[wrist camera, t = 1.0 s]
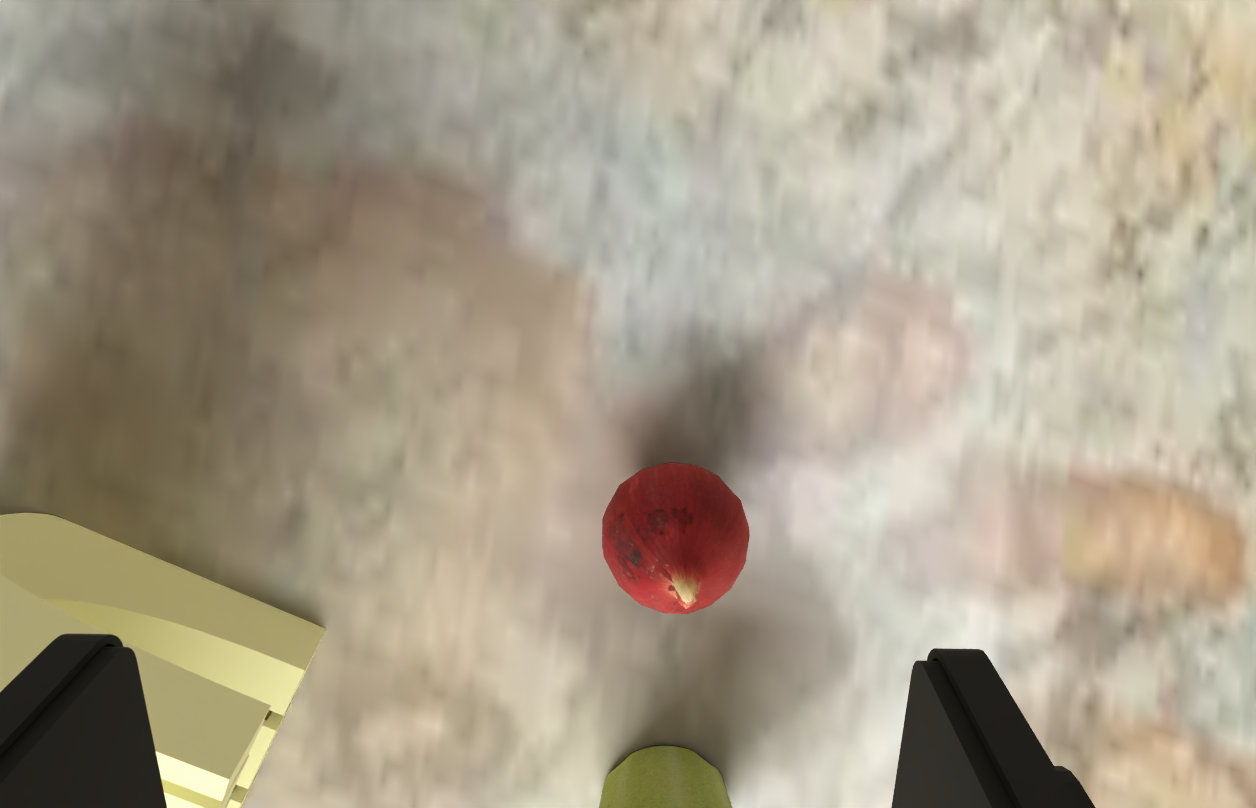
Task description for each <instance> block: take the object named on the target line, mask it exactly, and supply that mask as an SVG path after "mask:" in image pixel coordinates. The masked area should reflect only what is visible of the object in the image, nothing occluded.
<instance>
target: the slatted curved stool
mask: <svg viewBox="0 0 1256 808" xmlns="http://www.w3.org/2000/svg"><path fill="white" fill-rule="evenodd" d="M325 631H326V629H325V628H323V627H320V626H318V625H316V624H313V623H311V622H308V621H306V620H304V619H301V618H299V617H296V616H294V615H292V614H289V613H287V612H285V611H282V610H280V609H277V608H275V607H273V606H270V605H268V604H265V603H263V602H261V601H258V600H256V599H254V598H251V597H249V596H246V595H244V594H242V593H239V592H237V591H234V590H232V589H230V588H227V587H225V586H223V585H220V584H218V583H215V582H213V581H211V580H208V579H206V578H203V577H201V576H199V575H196V574H194V573H192V572H189V571H187V570H184V569H182V568H180V567H177V566H175V565H173V564H170V563H168V562H165V561H163V560H161V559H158V558H156V557H153V556H151V555H149V554H146V553H144V552H142V551H139V550H137V549H134V548H132V547H130V546H127V545H125V544H122V543H120V542H118V541H115V540H113V539H111V538H108V537H106V536H103V535H101V534H99V533H96V532H94V531H91V530H89V529H87V528H84V527H82V526H80V525H77V524H75V523H72V522H70V521H68V520H65V519H63V518H60V517H57V516H53V515H48V514H38V513H16V514H5V515H0V692H1V691H2V690H3V689H4V688H5V687H6V686H7V685H8V684H9V683H10V682H11V681H12V680H13V679H14V678H15V677H16V676H17V675H18V674H19V673H20V672H21V671H22V670H23V669H24V668H25V667H26V666H27V665H28V664H30V663H31V662H32V661H33V660H34V659H35V658H36V657H37V656H38V655H39V654H40V653H41V652H42V651H43V650H44V649H45V648H46V647H47V646H48V645H49V644H50V643H51V642H52V641H53V640H54V639H56V638H57V637H58V636H60V635H63V634H112V635H115V636H117V637H118V638H119V639H120V640H121V641H122V644H123V647H129V648H131V649H132V650H133V651H134V652H135V655H136V658H137V663H138V668H139V673H140V678H141V683H142V688H143V692H144V697H145V702H146V707H147V712H148V717H149V722H150V727H151V732H152V736H153V741H154V746H155V751H156V756H157V761H158V766H159V771H160V776H161V780H162V785H163V790H164V795H165V800H166V805H167V808H241V806H242V804H243V802H244V800H245V798H246V796H247V794H248V792H249V789H250V787H251V785H252V783H253V781H254V779H255V777H256V774H257V772H258V770H259V768H260V766H261V764H262V762H263V760H264V758H265V756H266V754H267V752H268V750H269V748H270V746H271V744H272V741H273V739H274V737H275V735H276V733H277V731H278V729H279V727H280V725H281V723H282V721H283V719H284V716H285V714H286V712H287V710H288V708H289V706H290V702H291V701H292V699H293V697H294V695H295V693H296V691H297V689H298V687H299V685H300V683H301V681H302V679H303V677H304V675H305V673H306V671H307V668H308V666H309V664H310V662H311V660H312V658H313V656H314V654H315V652H316V650H317V648H318V646H319V643H320V641H321V639H322V637H323V635H324V633H325Z"/></svg>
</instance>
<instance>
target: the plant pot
mask: <svg viewBox="0 0 1256 808" xmlns="http://www.w3.org/2000/svg"><path fill="white" fill-rule="evenodd" d="M599 808H732V806H731V802H730V799H729V796H728V794H727V791H726V788H725V785H724V782H723V779H722V776H721V775H720V773H719V771H718V770H717V769H716V768H715V767H713V766H712V765H710V764H709V763H708V762H706V761H705V760H703V759H702V758H701V757H700V756H699V755H697V754H696V753H695V752H694V751H691V750H689V749H685V748H681V747H676V746H655V747H649V748H645V749H641V750H639V751H636V752H634V753H632V754H630V755H629V756H628V757H627V758H626V759H625V760H624V761H623V762H622V763H621V764H619V765H618V766H617V767H616V768H615V769H614V770H613V771H611V772H610V773H609V774H608V776H607V778H606V780H605V783H604V787H603V791H602V796H601V801H600V806H599Z"/></svg>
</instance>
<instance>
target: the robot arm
mask: <svg viewBox="0 0 1256 808" xmlns="http://www.w3.org/2000/svg"><path fill="white" fill-rule="evenodd" d="M0 808H167V805H166V800H165V795H164V790H163V785H162V780H161V776H160V771H159V766H158V761H157V756H156V751H155V746H154V741H153V736H152V732H151V727H150V722H149V717H148V712H147V707H146V702H145V697H144V692H143V688H142V683H141V678H140V673H139V668H138V663H137V658H136V655H135V652H134V651H133V650H132V649H131V648H129V647H123V644H122V641H121V640H120V639H119V638H118V637H117V636H115V635H112V634H63V635H60V636H58V637H57V638H56V639H54V640H53V641H52V642H51V643H50V644H49V645H48V646H47V647H46V648H45V649H44V650H43V651H42V652H41V653H40V654H39V655H38V656H37V657H36V658H35V659H34V660H33V661H32V662H31V663H30V664H28V665H27V666H26V667H25V668H24V669H23V670H22V671H21V672H20V673H19V674H18V675H17V676H16V677H15V678H14V679H13V680H12V681H11V682H10V683H9V684H8V685H7V686H6V687H5V688H4V689H3V690H2V691H1V692H0ZM892 808H1095V806H1094V805H1093V803H1092V801H1091V800H1090V798H1089V797H1088V795H1087V793H1086V792H1085V790H1084V789H1083V787H1082V785H1081V784H1080V782H1079V781H1078V780H1077V778H1076V777H1075V776H1074V775H1073V774H1072V772H1071V771H1069V770H1068V769H1066V768H1064V767H1063V766H1054V765H1053V764H1052V762H1051V761H1050V759H1049V757H1048V756H1047V754H1046V752H1045V751H1044V749H1043V747H1042V746H1041V744H1040V742H1039V741H1038V739H1037V737H1036V736H1035V734H1034V732H1033V731H1032V729H1031V727H1030V726H1029V724H1028V722H1027V721H1026V719H1025V718H1024V716H1023V714H1022V713H1021V711H1020V709H1019V708H1018V706H1017V704H1016V703H1015V701H1014V699H1013V698H1012V696H1011V694H1010V693H1009V691H1008V689H1007V688H1006V686H1005V684H1004V683H1003V681H1002V679H1001V678H1000V676H999V675H998V673H997V671H996V670H995V668H994V666H993V665H992V663H991V661H990V660H989V658H988V656H987V655H986V654H985V653H984V651H982V650H979V649H933V650H931V651H930V653H929V655H928V659H927V661H916V662H915V663H914V665H913V669H912V674H911V681H910V688H909V694H908V701H907V708H906V715H905V721H904V728H903V735H902V742H901V748H900V755H899V762H898V769H897V775H896V782H895V789H894V795H893V802H892Z"/></svg>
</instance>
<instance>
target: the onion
mask: <svg viewBox="0 0 1256 808" xmlns="http://www.w3.org/2000/svg"><path fill="white" fill-rule="evenodd" d="M748 542H749V526H748V523H747V519H746V516H745V513H744V510H743V506H742V503H741V500H740V499H739V498H738V497H737V496H736V495H735V494H734V493H733V492H732V491H731V490H730V489H729V488H728V487H727V485H726V484H725V483H724V482H723V481H722V480H721V479H720V478H719V477H718V476H717V475H715V474H713V473H711V472H709V471H707V470H705V469H703V468H701V467H699V466H697V465H691V464H681V463H671V462H670V463H665V464H661V465H657V466H653V467H649V468H645V469H642V470H641V471H639V472H638V473H636V474H635V475H633V476H632V477H631V478H629V479H628V480H626V481H625V482H623V483H622V484H620V485H619V487H618V489H617V490H616V492H615V494H614V496H613V498H612V500H611V501H610V503H609V505H608V507H607V509H606V511H605V514H604V517H603V528H602V547H603V555H604V558H605V560H606V562H607V564H608V566H609V568H610V569H611V571H612V573H613V575H614V577H615V579H616V581H617V583H618V584H619V586H620V587H621V588H622V589H623V590H625V591H626V592H627V593H628V594H629V595H630V596H631V597H632V598H634V599H635V600H636V601H637V602H638V603H640V604H641V605H643V606H646V607H649V608H652V609H654V610H657V611H660V612H663V613H679V614H689V613H691V612H694V611H697V610H699V609H702V608H705V607H707V606H710V605H711V604H713V603H714V602H715V601H716V600H718V599H719V598H720V597H721V596H723V595H724V594H725V593H726V592H728V591H729V590H730V589H731V587H732V585H733V584H734V582H735V580H736V579H737V577H738V575H739V574H740V572H741V570H742V569H743V566H744V564H745V562H746V555H747V548H748Z"/></svg>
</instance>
